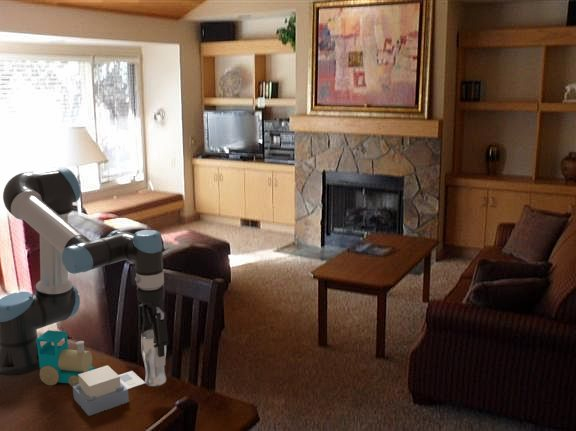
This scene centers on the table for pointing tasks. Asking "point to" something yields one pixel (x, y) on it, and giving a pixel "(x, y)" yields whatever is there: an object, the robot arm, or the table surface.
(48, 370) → the toy train
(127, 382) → the page
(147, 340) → the beer glass
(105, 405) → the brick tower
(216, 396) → the table surface
